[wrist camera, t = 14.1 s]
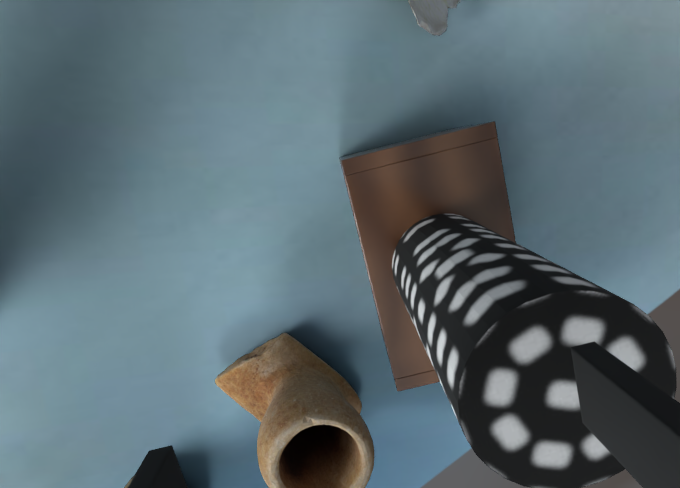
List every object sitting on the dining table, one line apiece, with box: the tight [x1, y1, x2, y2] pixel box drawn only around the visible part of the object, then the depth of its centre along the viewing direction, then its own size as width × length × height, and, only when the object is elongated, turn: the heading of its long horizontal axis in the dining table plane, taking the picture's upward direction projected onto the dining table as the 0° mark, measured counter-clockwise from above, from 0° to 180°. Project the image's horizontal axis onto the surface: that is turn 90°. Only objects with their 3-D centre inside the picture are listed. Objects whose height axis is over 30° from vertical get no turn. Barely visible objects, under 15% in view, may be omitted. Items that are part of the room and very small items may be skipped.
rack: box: [339, 122, 516, 391], centre depth 43 cm, size 12×20×12 cm, turn 14°
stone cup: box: [215, 333, 374, 488], centre depth 45 cm, size 15×12×15 cm
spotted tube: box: [392, 214, 676, 488], centre depth 27 cm, size 8×8×20 cm
